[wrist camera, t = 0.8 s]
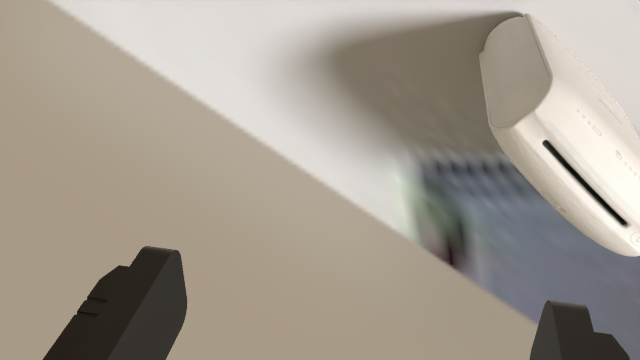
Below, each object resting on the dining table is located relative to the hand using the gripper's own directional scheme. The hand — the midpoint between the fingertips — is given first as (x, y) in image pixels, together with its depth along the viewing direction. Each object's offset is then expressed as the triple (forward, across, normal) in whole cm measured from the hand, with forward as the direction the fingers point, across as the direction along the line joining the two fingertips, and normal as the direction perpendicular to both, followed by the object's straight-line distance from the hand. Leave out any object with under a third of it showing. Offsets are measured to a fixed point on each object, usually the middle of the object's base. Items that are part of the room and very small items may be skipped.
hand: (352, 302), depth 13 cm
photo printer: (+26, -9, +5) cm, 28 cm away
